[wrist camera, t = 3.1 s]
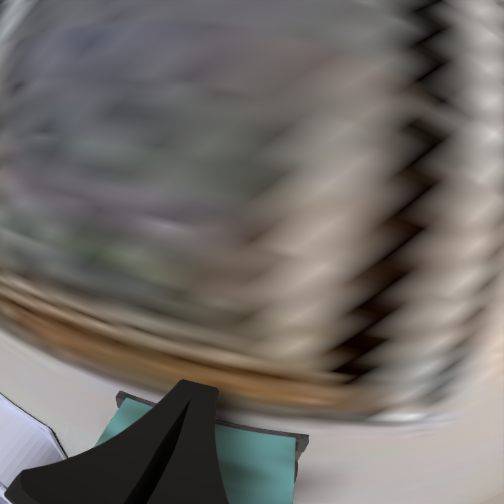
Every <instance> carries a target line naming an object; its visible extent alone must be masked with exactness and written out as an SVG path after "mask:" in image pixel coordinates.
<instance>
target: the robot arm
mask: <svg viewBox="0 0 504 504" xmlns="http://www.w3.org/2000/svg"><path fill="white" fill-rule="evenodd" d="M218 393H219V390H218V389H217V388H216V387H212V386H208V385H203V384H199V383H195V382H192V381H188V380H184V379H182V380H180V381H179V382H178V383H177V384H176V385H175V387H174V388H173V389H172V390H171V391H170V392H169V393H168V394H167V395H166V396H165V397H164V398H163V399H162V400H161V401H159V402H158V403H157V404H156V405H155V406H154V407H153V408H152V409H150V410H149V411H148V412H147V413H146V414H145V415H143V416H142V417H141V418H139V419H138V420H137V421H135V422H134V423H133V424H131V425H130V426H129V427H127V428H126V429H125V430H123V431H122V432H120V433H119V434H117V435H115V436H114V437H112V438H110V439H109V440H107V441H105V442H103V443H102V444H100V445H98V446H96V447H94V448H92V449H90V450H88V451H85V452H83V453H81V454H78V455H76V456H73V457H70V458H66V456H65V454H64V453H63V451H62V449H61V447H60V446H59V444H58V442H57V440H56V438H55V436H54V435H53V433H52V431H51V430H50V429H49V428H48V427H47V426H45V425H43V424H42V423H40V422H39V421H37V420H36V419H34V418H33V417H31V416H30V415H28V414H27V413H25V412H24V411H22V410H21V409H20V408H18V407H17V406H15V405H14V404H13V403H11V402H10V401H9V400H7V399H6V398H5V397H4V396H2V395H1V394H0V504H229V502H228V499H227V496H226V492H225V489H224V485H223V481H222V477H221V473H220V468H219V462H218V456H217V449H216V440H215V416H216V408H217V401H218ZM56 461H57V462H56Z"/></svg>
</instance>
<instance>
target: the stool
mask: <svg viewBox="0 0 504 504" xmlns="http://www.w3.org/2000/svg"><path fill="white" fill-rule="evenodd" d="M152 408H153V407H152V406H149V405H146V404H143V403H140V402H137V401H135V400H132V399H129V398H126V399H125V400H124V402H123V403H122V405H121V406H120V408H119V409H118V411H117V412H116V414H115V415H114V417H113V418H112V420H111V422H110V423H109V425H108V426H107V428H106V429H105V431H104V432H103V434H102V435H101V437H100V438H99V440H98V442H97V443H96V445H95V446H94V447H96V446H98V445H100V444H102V443H103V442H105V441H107V440H109V439H110V438H112V437H114V436H115V435H117V434H119V433H120V432H122V431H123V430H125V429H126V428H127V427H129V426H130V425H131V424H133V423H134V422H135V421H137V420H138V419H139V418H141V417H142V416H143V415H145V414H146V413H147V412H148V411H149V410H150V409H152ZM215 440H216V449H217V456H218V462H219V468H220V473H221V477H222V481H223V485H224V489H225V492H226V496H227V499H228V502H229V504H293V494H294V483H295V481H296V477H297V471H298V462H297V460H295V440H296V438H292V437H284V436H276V435H269V434H263V433H257V432H251V431H245V430H240V429H235V428H230V427H225V426H221V425H216V424H215Z"/></svg>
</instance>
